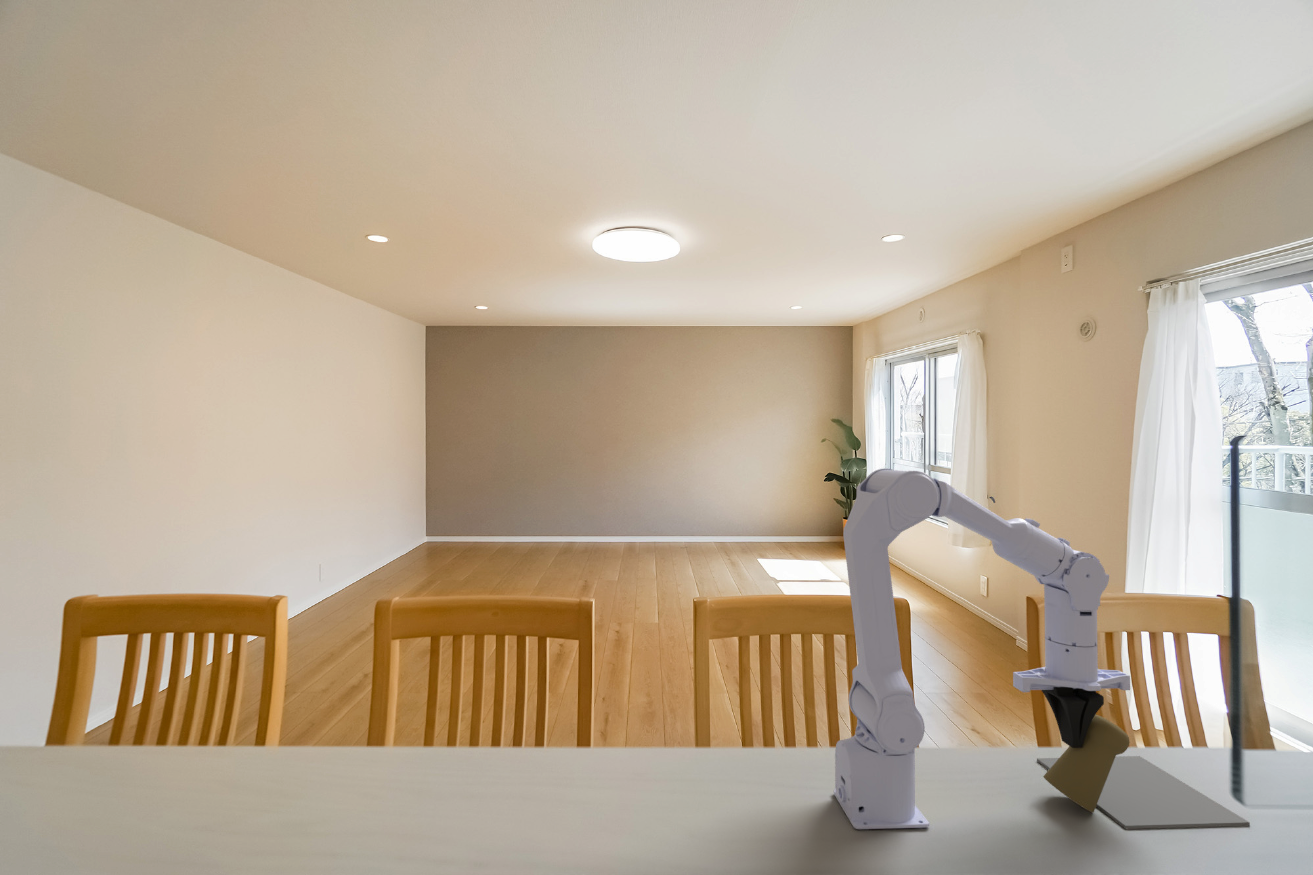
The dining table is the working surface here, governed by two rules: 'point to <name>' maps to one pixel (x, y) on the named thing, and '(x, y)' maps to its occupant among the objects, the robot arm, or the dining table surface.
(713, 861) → the dining table surface
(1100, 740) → the cork
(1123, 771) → the mat
